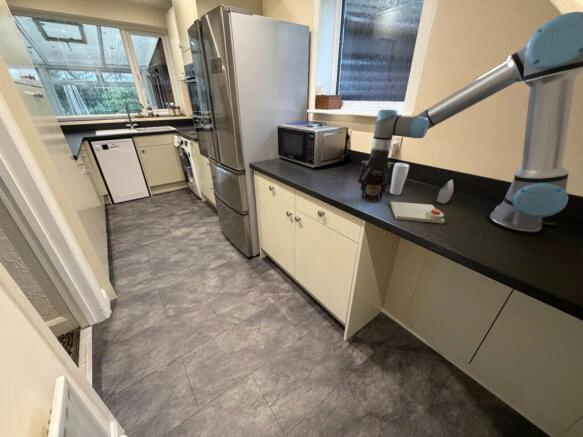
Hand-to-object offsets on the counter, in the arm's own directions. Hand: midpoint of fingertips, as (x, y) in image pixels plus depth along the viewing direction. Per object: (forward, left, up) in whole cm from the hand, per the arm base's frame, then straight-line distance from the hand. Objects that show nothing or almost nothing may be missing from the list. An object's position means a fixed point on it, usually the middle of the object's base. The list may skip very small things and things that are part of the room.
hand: (371, 197), depth 112 cm
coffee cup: (0, 0, -1) cm, 1 cm away
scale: (-17, +11, -1) cm, 20 cm away
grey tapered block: (-34, -6, -1) cm, 35 cm away
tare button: (-23, +16, +1) cm, 28 cm away
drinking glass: (-13, -11, -1) cm, 17 cm away
